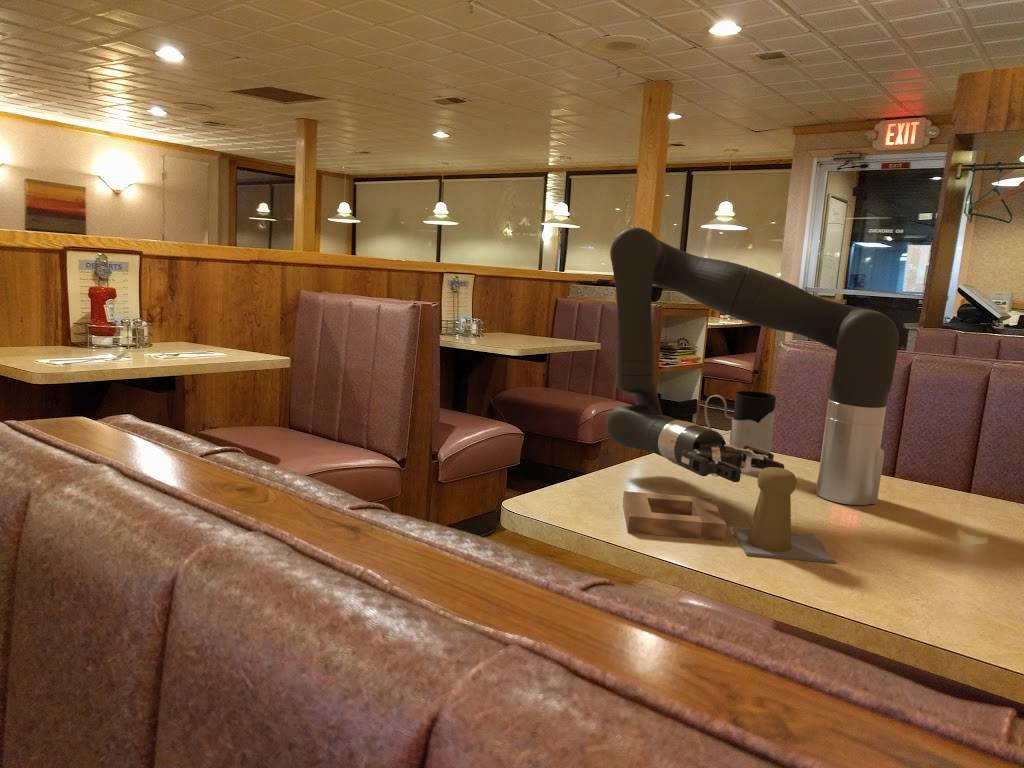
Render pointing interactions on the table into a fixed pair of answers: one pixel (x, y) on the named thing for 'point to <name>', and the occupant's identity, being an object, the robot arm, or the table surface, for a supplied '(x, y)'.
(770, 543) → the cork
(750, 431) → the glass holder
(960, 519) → the table surface
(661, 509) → the socket block
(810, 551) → the rubber mat
